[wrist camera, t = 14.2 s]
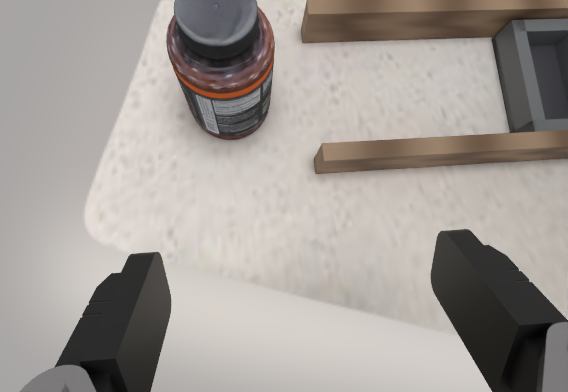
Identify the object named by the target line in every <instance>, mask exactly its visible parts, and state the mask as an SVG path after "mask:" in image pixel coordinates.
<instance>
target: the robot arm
mask: <svg viewBox="0 0 568 392" xmlns="http://www.w3.org/2000/svg"><path fill="white" fill-rule="evenodd" d="M431 284H432V288H433V291H434V293H435V295H436V297H437V299H438V300H439V302H440V304H441V306H442V307H443V309H444V311H445V312H446V314H447V316H448V317H449V319H450V321H451V323H452V324H453V326H454V328H455V329H456V331H457V333H458V334H459V336H460V338H461V339H462V341H463V343H464V345H465V346H466V348H467V350H468V351H469V353H470V355H471V356H472V358H473V360H474V361H475V363H476V365H477V366H478V368H479V370H480V371H481V373H482V375H483V376H484V378H485V380H486V382H487V383H488V385H489V387H490V388H491V390H492V392H568V320H567V319H566V318H565V317H564V316H563V315H562V314H561V313H560V312H559V311H558V310H557V309H556V308H555V306H554V305H553V304H552V303H551V302H550V301H549V300H548V299H547V298H546V297H545V296H544V295H543V294H542V293H541V292H540V291H539V290H538V288H537V287H536V286H535V285H534V284H533V283H532V282H529V279H528V278H527V277H526V276H525V275H524V274H523V273H522V272H521V271H519V268H518V267H517V266H516V265H515V264H514V263H513V262H512V261H511V260H510V259H509V258H508V257H507V256H506V255H505V254H503V253H501V252H500V251H498V250H496V249H495V248H493V247H491V246H490V245H483V244H482V243H481V242H480V241H479V240H478V238H477V237H476V236H475V235H474V234H473V233H472V232H471V231H470V230H468V229H464V230H450V231H441V232H440V233H439V234H438V236H437V241H436V247H435V253H434V258H433V264H432V270H431ZM170 313H171V294H170V290H169V286H168V282H167V278H166V273H165V270H164V265H163V261H162V257H161V255H160V253H159V252H150V253H137V254H130V256H129V257H128V259H127V261H126V263H125V265H124V268H123V270H122V272H121V273H112V274H110V275H109V276H108V277H107V278H106V279H105V280H104V281H103V282H102V283H101V284H100V285H99V286H98V287H97V288H96V290H95V292H94V294H93V296H92V297H91V299H90V301H89V305H87V307H86V309H85V311H84V313H83V317H82V318H80V320H79V322H78V324H77V326H76V328H75V330H74V331H73V333H72V335H71V337H70V339H69V341H68V343H67V345H66V347H65V348H64V350H63V352H62V354H61V356H60V358H59V360H58V362H57V364H56V365H55V367H54V368H52V369H49V370H47V371H45V372H43V373H41V374H40V375H38V376H37V377H35V378H34V379H32V380H31V381H30V382H29V383H28V384H27V385H26V386H25V387H24V388H23V389H22V390H21V391H20V392H150V391H151V387H152V383H153V379H154V376H155V372H156V368H157V364H158V360H159V356H160V352H161V349H162V344H163V340H164V337H165V333H166V329H167V325H168V322H169V318H170Z"/></svg>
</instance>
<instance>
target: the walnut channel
mask: <svg viewBox="0 0 568 392" xmlns="http://www.w3.org/2000/svg"><path fill="white" fill-rule="evenodd" d="M533 19H568V0H307V2H306V7H305V12H304V17H303V22H302V27H301V33H302V43H310V42H343V41H375V40H407V39H439V38H472V37H495V36H496V35H497V34H498V33H499V32H500V31H501V30H502V29H503V28H504V27H505V26H506V25H507V24H508V23H509V22H510V21H511V20H533ZM560 158H568V130H558V131H540V132H522V133H503V134H485V135H467V136H449V137H431V138H413V139H395V140H377V141H359V142H341V143H323V144H322V145H321V147H320V148H319V150H318V152H317V154H316V156H315V158H314V163H315V173H316V174H320V173H336V172H352V171H368V170H384V169H400V168H416V167H432V166H448V165H464V164H480V163H496V162H512V161H528V160H544V159H560Z"/></svg>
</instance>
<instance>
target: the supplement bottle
mask: <svg viewBox="0 0 568 392" xmlns="http://www.w3.org/2000/svg"><path fill="white" fill-rule="evenodd" d="M174 14H175V15H174V16H173V18H172V19H171V21H170V24H169V26H168V31H167V50H168V54H169V58H170V61H171V63H172V66H173V69H174V71H175V73H176V76H177V78H178V81H179V83H180V85H181V87H182V90H183V92H184V95H185V97H186V100H187V102H188V105H189V107H190V110H191V112H192V114H193V116H194V118H195V119H196V121H197V122H198V123H199V125H200V126H201V127H202V128H203V129H204V130H206V131H207V132H209V133H210V134H212V135H214V136H217V137H220V138H225V139H234V138H240V137H244V136H246V135H249V134H250V133H252V132H254V131H255V130H256V129H257V128H258V127H259V126H260V125H261V124H262V122H263V121H264V119H265V117H266V115H267V113H268V109H269V105H270V95H271V85H272V74H273V64H274V49H275V43H274V36H273V31H272V28H271V25H270V23H269V21H268V19H267V17H266V16H265V14H264V13H263V12H262V10H261V9H260V8H259V7H258V6H257V2H256V0H175V2H174Z"/></svg>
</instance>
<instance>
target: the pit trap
mask: <svg viewBox="0 0 568 392" xmlns="http://www.w3.org/2000/svg"><path fill="white" fill-rule="evenodd" d="M492 42H493V47H494V52H495V57H496V62H497V67H498V72H499V77H500V82H501V87H502V92H503V97H504V102H505V108H506V113H507V118H508V123H509V128H510V133H522V132H540V131H558V130H568V19H533V20H511V21H510V22H509V23H508V24H507V25H506V26H505V27H504V28H503V29H502V30H501V31H500V32H499V33H498V34H497V35H496V36H495V37H494V38H493V39H492Z"/></svg>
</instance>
